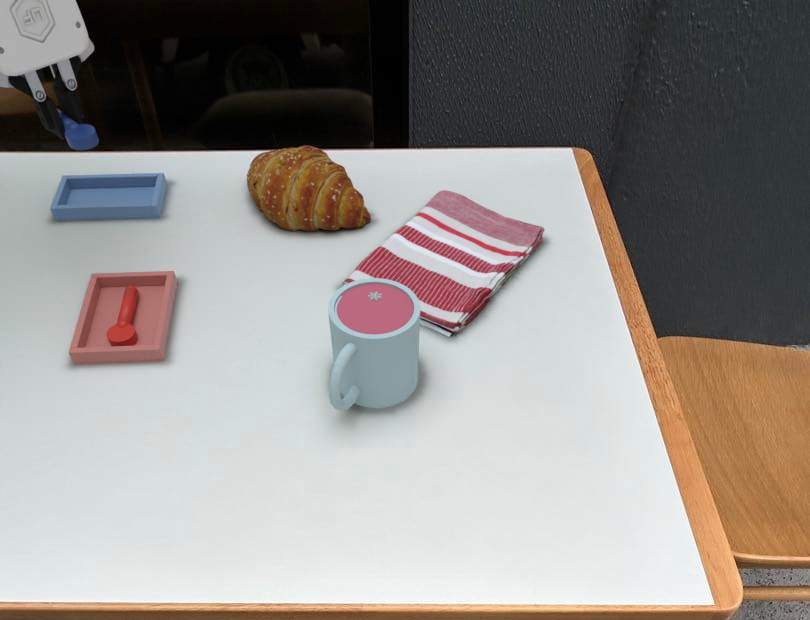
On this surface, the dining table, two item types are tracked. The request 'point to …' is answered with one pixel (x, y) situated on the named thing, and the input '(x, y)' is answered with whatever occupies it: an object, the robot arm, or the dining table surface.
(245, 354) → the dining table surface
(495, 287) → the dish towel
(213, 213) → the dining table surface
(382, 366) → the mug
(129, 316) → the red spoon
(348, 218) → the pastry
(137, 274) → the rose tray
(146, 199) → the blue tray
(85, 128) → the blue spoon
